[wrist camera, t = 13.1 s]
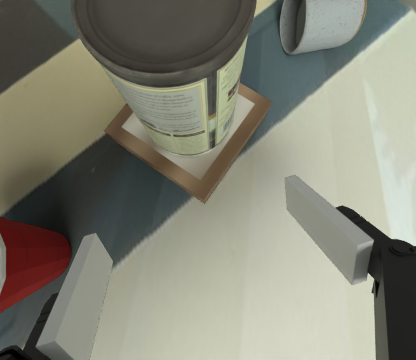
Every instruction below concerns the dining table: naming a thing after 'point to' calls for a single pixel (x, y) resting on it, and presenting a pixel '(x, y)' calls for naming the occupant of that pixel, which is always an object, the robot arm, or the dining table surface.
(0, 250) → the plastic cup
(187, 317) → the dining table surface
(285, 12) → the ceramic mug
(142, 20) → the coffee can
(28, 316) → the dining table surface
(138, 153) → the picture frame
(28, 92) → the dining table surface
